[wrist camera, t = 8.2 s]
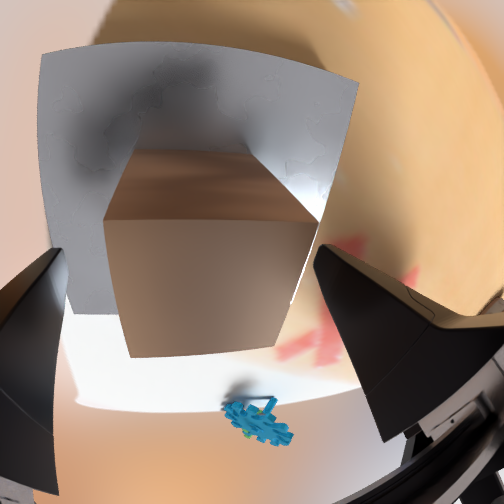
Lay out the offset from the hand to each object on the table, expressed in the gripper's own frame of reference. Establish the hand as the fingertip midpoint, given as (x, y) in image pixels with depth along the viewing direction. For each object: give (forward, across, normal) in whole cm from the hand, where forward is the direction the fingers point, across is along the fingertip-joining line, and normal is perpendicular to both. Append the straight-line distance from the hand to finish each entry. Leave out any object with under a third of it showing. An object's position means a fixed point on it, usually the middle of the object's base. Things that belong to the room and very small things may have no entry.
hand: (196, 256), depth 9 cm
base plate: (+6, 0, 0) cm, 7 cm away
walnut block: (+4, 0, 0) cm, 4 cm away
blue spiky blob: (+7, -9, +30) cm, 32 cm away
